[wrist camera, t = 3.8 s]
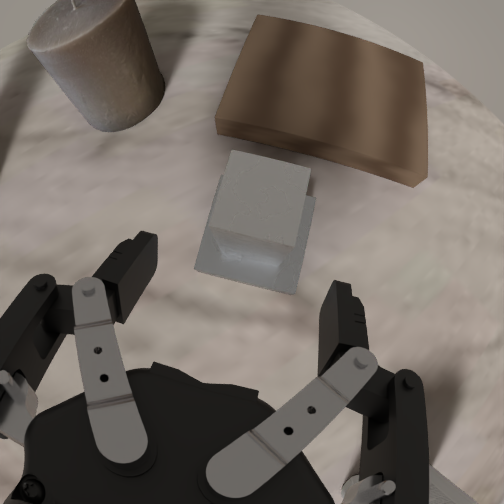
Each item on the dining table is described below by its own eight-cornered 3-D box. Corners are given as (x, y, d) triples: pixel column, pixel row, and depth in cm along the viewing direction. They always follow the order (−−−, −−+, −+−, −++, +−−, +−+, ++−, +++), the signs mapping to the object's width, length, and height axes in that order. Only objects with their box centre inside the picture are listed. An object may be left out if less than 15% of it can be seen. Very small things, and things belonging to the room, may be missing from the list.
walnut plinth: (217, 134, 29) (214, 117, 26) (256, 31, 32) (257, 14, 29) (413, 187, 28) (427, 177, 26) (413, 76, 31) (422, 62, 28)
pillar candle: (176, 65, 30) (146, -40, 16) (148, 136, 29) (89, 28, 14) (104, 67, 31) (57, -20, 16) (72, 133, 29) (-2, 51, 14)
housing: (198, 272, 27) (167, 250, 16) (223, 185, 28) (211, 118, 17) (290, 295, 27) (319, 288, 16) (310, 206, 28) (345, 150, 17)
